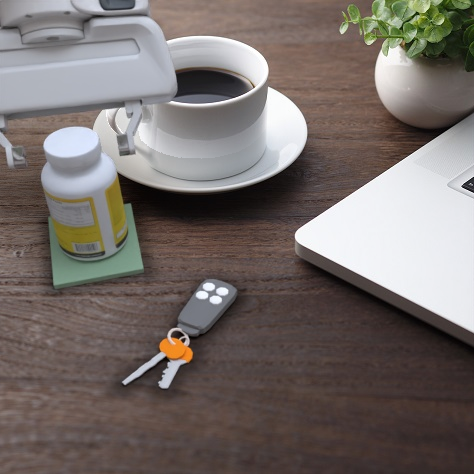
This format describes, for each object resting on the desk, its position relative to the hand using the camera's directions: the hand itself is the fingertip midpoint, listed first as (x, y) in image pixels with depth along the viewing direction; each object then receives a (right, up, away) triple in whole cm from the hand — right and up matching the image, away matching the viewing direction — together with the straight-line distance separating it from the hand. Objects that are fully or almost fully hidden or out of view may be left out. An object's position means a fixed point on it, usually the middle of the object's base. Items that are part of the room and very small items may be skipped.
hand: (73, 161), depth 74 cm
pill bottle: (0, -7, +5) cm, 9 cm away
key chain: (+11, -16, -3) cm, 19 cm away
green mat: (0, -8, +5) cm, 9 cm away
